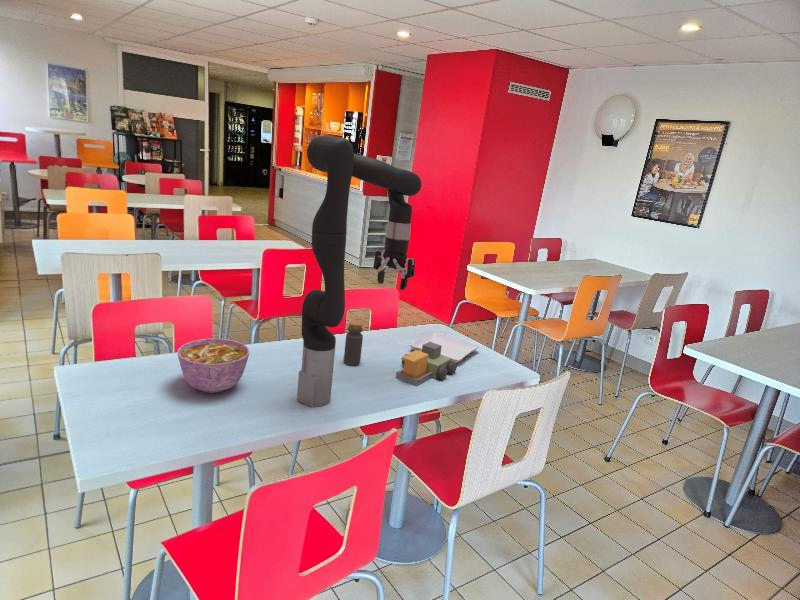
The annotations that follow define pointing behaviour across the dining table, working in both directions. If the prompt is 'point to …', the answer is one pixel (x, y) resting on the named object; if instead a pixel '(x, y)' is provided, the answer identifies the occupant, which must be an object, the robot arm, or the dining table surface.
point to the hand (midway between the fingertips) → (391, 286)
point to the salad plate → (447, 346)
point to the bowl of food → (213, 363)
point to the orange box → (415, 364)
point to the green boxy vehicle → (431, 365)
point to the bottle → (353, 344)
